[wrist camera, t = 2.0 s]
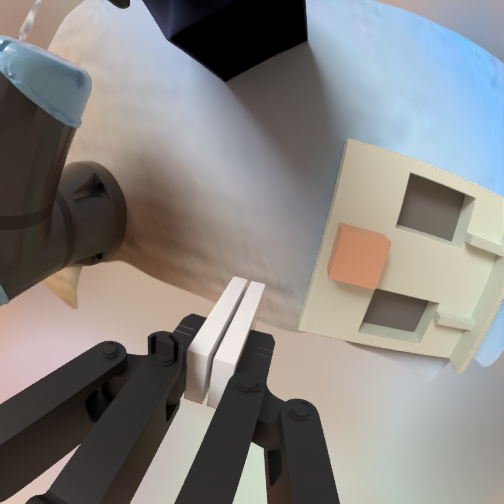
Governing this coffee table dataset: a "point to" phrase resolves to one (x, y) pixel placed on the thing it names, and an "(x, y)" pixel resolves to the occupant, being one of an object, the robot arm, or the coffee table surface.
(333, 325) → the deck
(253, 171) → the coffee table surface
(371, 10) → the coffee table surface
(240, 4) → the vase
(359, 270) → the block
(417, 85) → the coffee table surface
